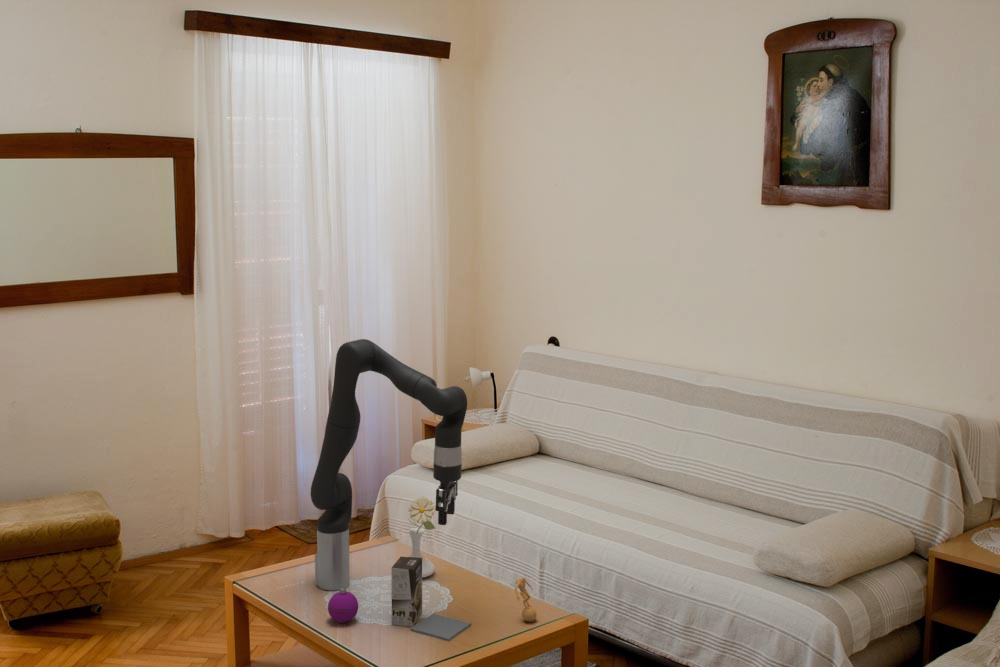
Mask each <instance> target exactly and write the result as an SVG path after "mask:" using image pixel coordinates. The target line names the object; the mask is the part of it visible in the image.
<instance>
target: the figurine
mask: <svg viewBox="0 0 1000 667" xmlns="http://www.w3.org/2000/svg"><path fill="white" fill-rule="evenodd" d="M515 584H516V585H515V587H514V591H515V595H516V599H517V601H520V598H521V597H522V598H523V601H522V602H523V606H524V608H523V610H522V611H521V616H522V618H523V620H525V621H526V622H528V623H529V622H534V620H536V618H537V613H538V612H537V610H536V608H534V607H533V606H532V605H531V604H529V602H528V601H529V600H530V599H531V595H530V593H529V592H528V591H527V589H526V585H527V586H528V587H530V589H531V590H532V591H533V589H534V588H533V587H532V585H531V584H530V583H528V581H527V580H526V578H525V577H524V576H523V577H522V578H517V579H516V581H515ZM518 590H519V592H520V596H521V597H520V596H519V593H518Z"/></svg>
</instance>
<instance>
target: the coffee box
mask: <svg viewBox="0 0 1000 667" xmlns="http://www.w3.org/2000/svg"><path fill="white" fill-rule="evenodd" d="M390 591H391V622H390V623H391V625H394V626H396V625H397V626H404V627H410V628H412V627H414V626H415V625H416V623H417V622H418V621H419V619H420V617H421V615H423V578H422V558H418V557H410V556H400V557H399V558H398V559H397V560H396V562H395V563H394V564H393V565H392V567H391V590H390Z"/></svg>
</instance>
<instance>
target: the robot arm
mask: <svg viewBox="0 0 1000 667" xmlns="http://www.w3.org/2000/svg"><path fill="white" fill-rule="evenodd" d="M366 372H374V373H377V374H379V375H382V376H384V377H386V378H387V379H389V380H390V381H391V383H392V384H393V385H394V387H395V388H396V389H398V390H399V392H402V393H403V394H405V395H407V396H409V397H411V398H413V399H414V400H417V401H419V402H420V403H421V404H422V405H423V406H424V407H425V408H426V409H427V410H429V411H430V412H431V413H433V414H435V415H437V416H441V417H442V419H441V420H440V421H439V423H437V424H436V426H435V430H434V448H433V471H432V472H433V476H432V477H433V479H434V480H436V481H439V483H440V484H439V485H438V488H436V490H435V507H434V508H435V511H436V512H437V513H438V514H437V516H438V518H437V523H438V525H440V526H446V525H447V523H448V522H447V521H448V515H451V516H452V515H454V514H455V513H456V512H455V510H456V509H455V508H456V507H455V506H456V504H455V503H456V500H457V496H458V494H459V493H458V487H459V486H458V481H459V480H461V479H462V471H463V470H462V468H463V467H462V465H463V464H462V462H463V459H462V458H463V457H462V456H463V451H462V429H463V425H464V422H465V418H466V414H467V410H468V398H467V394H466V392H465V391H464V389H463V388H462V387H459V386H457V385H456V386H455V385H453V386H448V387H446V388H439V387H437V382H436V381H435V379H433V377H430V376H428V375H426V374H424V373H422V372H420V371H419V370H416V369H414V368H412V367H410V366H408V365H406V364H405V363H403V361H402V362H401V361H400V360H398V359H397V358H395V357H394V356H393V355H392V354H390V353H388V352H387V351H386V350H385V349H383V348H381V347H380V346H379V345H378V344H376V343H375V342H373V341H371V340H369V339H367V338H366V339H365V338H364V339H363V338H360V339H356V340H351V341H347V342H344V343H343V344H341V346H340V347H338V350H337V352H336V356H335V364H334V374H333V375H334V378H333V385H332V392H331V393H332V394H331V399H330V406H329V410H328V414H327V418H326V425H325V429H324V437H323V440H322V446H321V451H320V456H319V459H318V463H317V466H316V470H315V472H314V476H313V479H312V482H311V485H310V499H311V502H312V504H313V506H314V507H315V508H316V509H317V510H319V511H320V510H321V511H324V510H325V511H324V512H323V513H322V514H321V515H320V516H319V518H318V519H317V521H316V540H317V541H316V543H317V544H316V546H317V547H316V548H317V549H316V550H317V552H316V553H315V554H314V582H315V584H314V585H315V586H318V588H320V590H321V589H322V590H325V591H340V589H341V588H344V587H345V588H346V589H347V587H349V586H350V584H351V582H350V579H351V578H350V570H351V569H350V522H351V519H352V512H353V510H352V509H353V488H352V487H353V486H352V483H351V481H350V478H348V476H347V475H346V474H345V473H342V472H340V470H341V466H342V464H343V463H344V461H345V460H346V458H347V456H348V455H349V453H350V452H351V450H352V449H353V447H354V445H355V443H356V441H357V438H358V434H359V430H360V425H361V411H360V407H359V405H358V404H359V403H358V402H357V398H356V388H357V385H358V384H357V383H358V378H359V376H360V374H361V373H366ZM441 505H442V506H441ZM341 586H342V587H341ZM343 586H344V587H343Z"/></svg>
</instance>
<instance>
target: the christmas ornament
mask: <svg viewBox="0 0 1000 667" xmlns="http://www.w3.org/2000/svg"><path fill="white" fill-rule="evenodd" d="M341 587H342V586H341ZM343 587H344V586H343ZM358 611H359V601H358V599H357V597H356V596H355V595H354V594H353V593H352V592H350V591H347V587H346V588H345V587H344V588H341V589H340V590H338V591H337V592H335V593H334V594H333V595H331V597H330V599H329V600H328V604H327V612H328V614H329V616H330V618H331V619H332V620H334V621H335V622H338V623H348V622H350V621H352V620H353V619H354V618H355V616H357V613H358Z"/></svg>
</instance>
